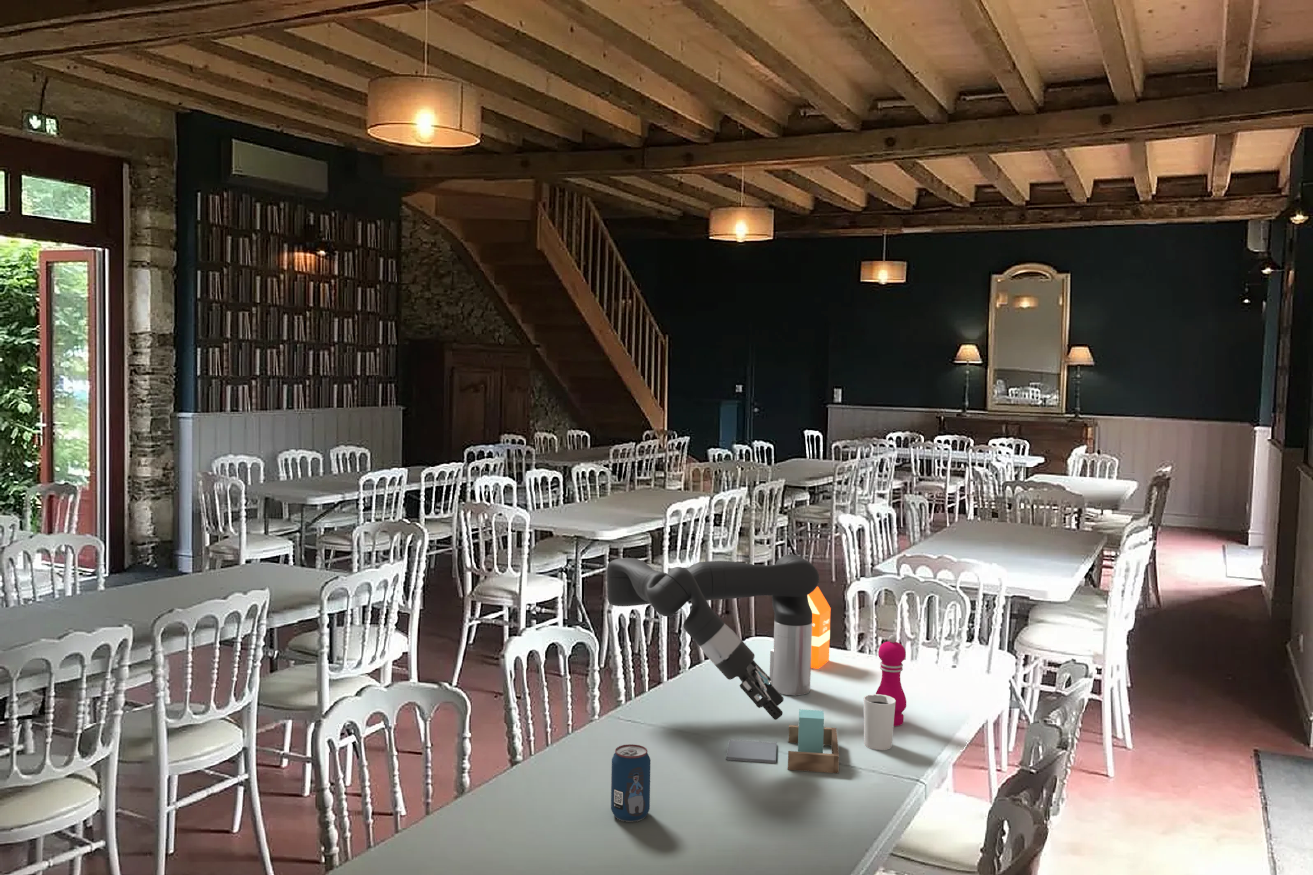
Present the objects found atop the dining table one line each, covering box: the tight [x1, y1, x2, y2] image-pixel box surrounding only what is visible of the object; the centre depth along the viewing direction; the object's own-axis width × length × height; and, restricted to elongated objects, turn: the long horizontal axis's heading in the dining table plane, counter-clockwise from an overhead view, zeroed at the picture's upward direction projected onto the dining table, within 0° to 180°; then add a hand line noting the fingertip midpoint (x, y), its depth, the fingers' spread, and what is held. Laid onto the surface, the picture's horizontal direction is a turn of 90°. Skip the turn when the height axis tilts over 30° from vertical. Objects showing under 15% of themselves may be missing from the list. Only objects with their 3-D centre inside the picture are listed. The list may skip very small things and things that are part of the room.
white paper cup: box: [863, 693, 896, 751], centre depth 228 cm, size 7×7×10 cm
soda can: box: [610, 744, 652, 823], centre depth 191 cm, size 7×7×12 cm
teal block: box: [797, 708, 825, 753], centre depth 221 cm, size 5×5×9 cm
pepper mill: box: [875, 634, 907, 727], centre depth 242 cm, size 7×7×20 cm
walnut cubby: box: [787, 724, 840, 774], centre depth 221 cm, size 10×16×4 cm, turn 173°
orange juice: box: [808, 586, 832, 670], centre depth 287 cm, size 8×9×20 cm
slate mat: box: [725, 739, 777, 764], centre depth 223 cm, size 10×10×1 cm
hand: (780, 709), depth 220 cm, fingers open, 8 cm apart
